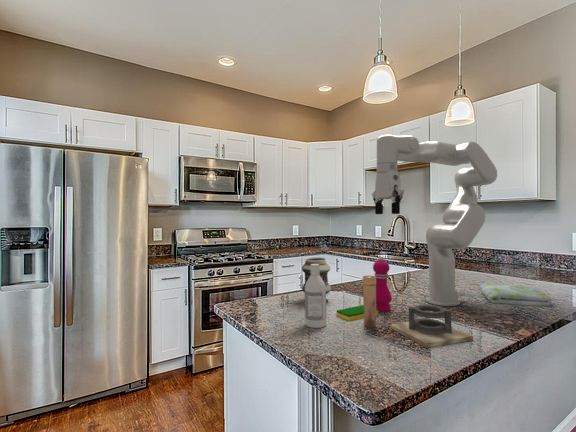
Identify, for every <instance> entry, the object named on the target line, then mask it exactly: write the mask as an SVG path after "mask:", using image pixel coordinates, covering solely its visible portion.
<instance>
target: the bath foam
mask: <svg viewBox="0 0 576 432" xmlns="http://www.w3.org/2000/svg"><path fill="white" fill-rule="evenodd" d="M310 269H311V276H310V277H309V279H308V281H307V282H306V285H305V293H304V317H305V319H304V320H305V322H304V323H305V326H307V327H308V328H312V329H320V328H324V327H326V326H327V303H326V299H327V294H326V287H325V284H324V282H323V280H322V278H321V277H320V275H319V264H311V265H310Z"/></svg>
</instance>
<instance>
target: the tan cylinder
mask: <svg viewBox="0 0 576 432" xmlns="http://www.w3.org/2000/svg"><path fill="white" fill-rule="evenodd" d="M362 288H363V289H362V300H363V301H362V302H363V304H362V305H363V308H364V318H363V327H364V328H366V329H376V328H377V324H378V323H377V315H376V277H375V275H363V276H362Z"/></svg>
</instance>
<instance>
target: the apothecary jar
mask: <svg viewBox="0 0 576 432" xmlns="http://www.w3.org/2000/svg"><path fill="white" fill-rule="evenodd" d="M311 264H319V275H320V277H321V278H322V280H323V282H324V284H325V287H326V295H327V294H329V293H330V292H331V290H332V287H331V284H329V280H328V279H329V278H328V273H329V272H330V270H331V266H330V265H329V263H327V259H326V257H325V258H324V257H308V258H306V259H305V262H304V264H303V265H302V267H301V270H302V272H303V273H304V283H303V284H302V286H301V289H302V292H303V293H304V294H305V285H306V282H307V281H308V279H309V277H310V276H311V269H310V265H311ZM328 303H329V299H327V298H326V304H328Z"/></svg>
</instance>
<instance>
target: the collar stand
mask: <svg viewBox="0 0 576 432" xmlns="http://www.w3.org/2000/svg"><path fill="white" fill-rule="evenodd" d="M415 315H416V316H418V317H421V318H418V319H415ZM442 318H444V322H443V321H440V320H438V319H442ZM452 322H453V321H452V310H451V309H450V308H449V309H448V308H443V307H442V306H441V307H440V306H439V305H433V304H419V305H416V306H408V322H401V323H399V322H398V323H395V324H393V323H392V324H390V329H391V330H393V331H395V332H396V333H398V334H400V335H403V336H404V337H406V338H407V339H409V340H411V341H413V342H414V343H416V344H419V345H420V346H422V347H423V348H427V349H428V348H434V347H440V346H446V345H452V344H457V343H458V344H459V343H464V342H471V341H474V335H471V334H470V333H468V332H465V331H463V330H460V329H458V328H455V327H453V326H452V325H453V323H452Z"/></svg>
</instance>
